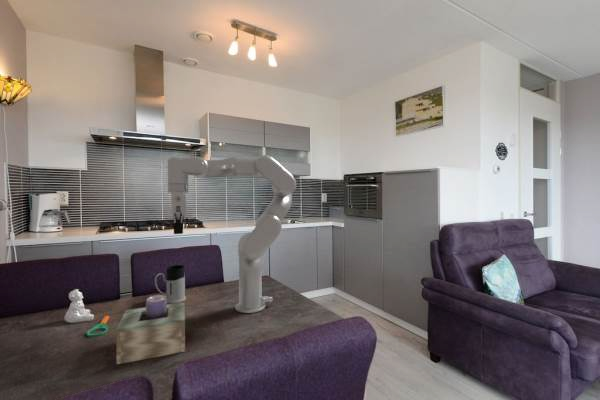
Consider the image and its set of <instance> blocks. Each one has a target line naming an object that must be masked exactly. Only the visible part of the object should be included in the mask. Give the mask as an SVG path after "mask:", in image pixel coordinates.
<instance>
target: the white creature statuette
mask: <svg viewBox="0 0 600 400" xmlns="http://www.w3.org/2000/svg"><path fill="white" fill-rule="evenodd" d="M68 298H69V300H70V301H71V303H70V305H69V307H68V310H67V311H66V313H65V315H64V317H63V318H64V321H65V322H66V323H70V324H77V323H83V322H91V321H93V320H94V317H95V315H94V314H92V313H91V309H87V308H85V304H84V302H83V299H84V296H83V292H81V291H79V288H78V289H77V288H75V289H73V290H72V291H70V292H69V293H68Z"/></svg>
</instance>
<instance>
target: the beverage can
mask: <svg viewBox="0 0 600 400" xmlns="http://www.w3.org/2000/svg"><path fill="white" fill-rule="evenodd" d="M167 305H168V303H167V299H166V295H164V294H158V295H157V294H156V295H152V296H149V297H147V298H146V302H145V307H146V320H152V319H159V318H166V317H167Z"/></svg>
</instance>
